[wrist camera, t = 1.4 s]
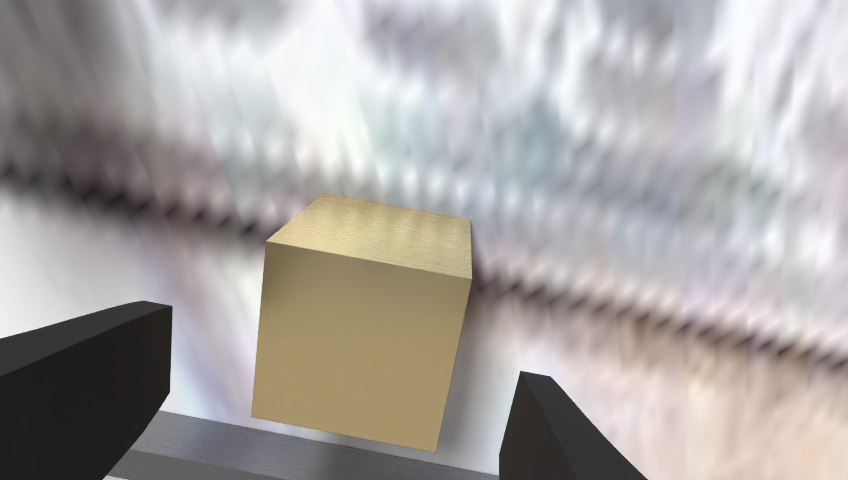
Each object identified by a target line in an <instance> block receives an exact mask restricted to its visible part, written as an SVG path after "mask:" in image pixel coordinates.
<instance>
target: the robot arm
mask: <svg viewBox="0 0 848 480" xmlns="http://www.w3.org/2000/svg"><path fill="white" fill-rule="evenodd" d="M171 338H172V306H169V305H164V304H159V303H153V302H148V301H139V302H133V303H128V304H124V305H120V306H116V307H112V308H108V309H105V310H101V311H98V312H94V313H91V314H87V315H84V316H80V317H77V318H74V319H70V320H67V321H63V322H60V323H56V324H53V325H49V326H46V327H43V328H39V329H35V330H32V331H28V332H24V333H20V334H16V335H13V336H9V337H5V338H1V339H0V480H103V479H104V477H105V476H106V475H107V474H108V473H109V472H110V471H111V469H112V468H113V467H114V466H115V465H116V464H117V463H118V462H119V460H120V459H121V458H122V457H123V456H124V455H125V453H126V452H127V451H128V450H129V449H130V448H131V447H132V445H133V444H134V443H135V442H136V441H137V439H138V438H139V437H140V436H141V435H142V434H143V432H144V431H145V429H146V428H147V426H148V425H149V423H150V422H151V421H152V419H153V418H154V416H155V415H156V413H157V412H158V410H159V408H160V407H161V405H162V404H163V402H164V401H165V399H166V397H167V396H168V394H169V393H170V370H171ZM499 480H648V479H646V478H645V477H644V476H643V475H642V474H641V473H640V472H639V471H638V470H637V469H636V468H635V467H634V466H633V465H632V464H631V463H630V462H629V461H628V460H627V459H626V458H625V457H624V456H623V455H622V454H621V453H620V452H619V451H618V450H617V449H616V448H615V447H614V446H613V445H612V444H611V443H610V442H609V441H608V440H607V439H606V438H605V437H604V436H603V435H602V433H601V432H600V431H599V430H598V429H597V428H596V427H595V426H594V425H593V424H592V422H591V421H590V420H589V419H588V418H587V417H586V416H585V415H584V413H583V412H582V411H581V410H580V409H579V408H578V407H577V405H576V404H575V403H574V402H573V401H572V400H571V399H570V397H569V396H568V395H567V394H566V393H565V392H564V391H563V389H562V388H561V387H560V386H559V385H558V384H557V383H556V382H555V381H554V380H553V379H552V378H551V377H550V376H545V375H540V374H534V373H529V372H523V371H520V375H519V378H518V382H517V386H516V390H515V394H514V398H513V402H512V406H511V410H510V414H509V418H508V422H507V426H506V430H505V434H504V438H503V442H502V446H501V450H500V453H499Z"/></svg>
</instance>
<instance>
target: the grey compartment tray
mask: <svg viewBox="0 0 848 480" xmlns="http://www.w3.org/2000/svg"><path fill="white" fill-rule="evenodd" d="M107 475H109V476H114V477H119V478H124V479H129V480H499V476H495V475H490V474H485V473H479V472H474V471H469V470H464V469H459V468H454V467H448V466H443V465H438V464H433V463H428V462H422V461H417V460H412V459H407V458H402V457H397V456H391V455H386V454H381V453H376V452H371V451H365V450H360V449H355V448H350V447H345V446H340V445H334V444H329V443H324V442H319V441H314V440H308V439H303V438H298V437H293V436H288V435H283V434H277V433H272V432H267V431H262V430H257V429H251V428H246V427H241V426H236V425H231V424H225V423H220V422H215V421H210V420H205V419H200V418H194V417H189V416H184V415H179V414H174V413H168V412H163V411H158V412H157V413H156V415H155V416H154V418H153V419H152V421H151V422H150V423H149V425H148V426H147V428H146V429H145V431H144V432H143V434H142V435H141V436H140V437H139V438H138V439H137V441H136V442H135V443H134V444H133V445H132V447H131V448H130V449H129V450H128V451H127V452H126V453H125V455H124V456H123V457H122V458H121V459H120V460H119V462H118V463H117V464H116V465H115V466H114V467H113V468H112V469H111V471H110V472H109V473H108V474H107Z"/></svg>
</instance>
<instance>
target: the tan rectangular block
mask: <svg viewBox="0 0 848 480" xmlns="http://www.w3.org/2000/svg"><path fill="white" fill-rule="evenodd" d="M471 282H472V259H471V225H470V220H468V219H462V218H457V217H451V216H446V215H440V214H435V213H429V212H424V211H419V210H413V209H408V208H402V207H397V206H391V205H386V204H380V203H375V202H369V201H364V200H358V199H353V198H347V197H342V196H336V195H331V194H326V193H323V194H322V195H321V196H319V197H318V198H317V199H316V200H315V201H313V202H312V203H311V204H310V205H309V206H307V207H306V208H305V209H304V210H303V211H301V212H300V213H299V214H298V215H297V216H295V217H294V218H293V219H292V220H291V221H289V222H288V223H287V224H286V225H285V226H283V227H282V228H281V229H280V230H279V231H277V232H276V233H275V234H274V235H273V236H271V237H270V238H269V239H268V240H267V241H266V248H265V260H264V272H263V284H262V295H261V307H260V319H259V331H258V342H257V354H256V366H255V378H254V389H253V401H252V413H251V417H253V418H258V419H264V420H269V421H274V422H279V423H284V424H290V425H295V426H300V427H305V428H310V429H316V430H321V431H326V432H331V433H337V434H342V435H347V436H352V437H357V438H363V439H368V440H373V441H378V442H383V443H389V444H394V445H399V446H404V447H409V448H415V449H420V450H425V451H430V452H435V453H436V449H437V444H438V439H439V434H440V430H441V425H442V420H443V415H444V410H445V406H446V401H447V396H448V391H449V387H450V382H451V377H452V372H453V368H454V363H455V358H456V353H457V349H458V344H459V339H460V334H461V329H462V325H463V320H464V315H465V310H466V306H467V301H468V296H469V291H470V287H471Z"/></svg>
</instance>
